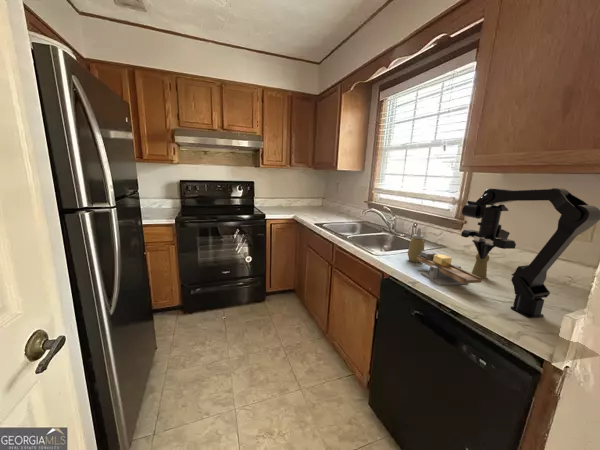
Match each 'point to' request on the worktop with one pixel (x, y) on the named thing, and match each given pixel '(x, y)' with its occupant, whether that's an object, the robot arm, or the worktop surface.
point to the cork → (480, 267)
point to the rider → (442, 260)
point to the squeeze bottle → (416, 246)
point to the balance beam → (453, 272)
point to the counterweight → (427, 255)
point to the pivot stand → (440, 277)
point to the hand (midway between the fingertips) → (482, 259)
